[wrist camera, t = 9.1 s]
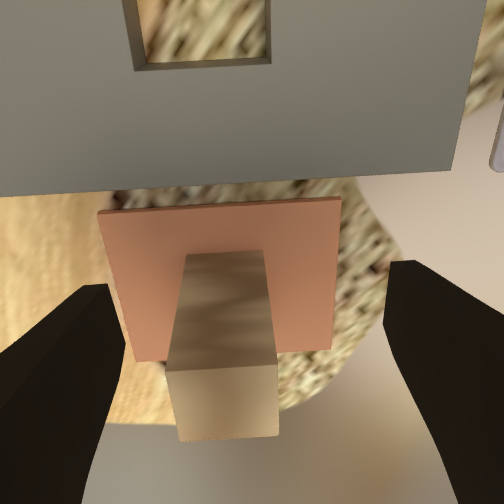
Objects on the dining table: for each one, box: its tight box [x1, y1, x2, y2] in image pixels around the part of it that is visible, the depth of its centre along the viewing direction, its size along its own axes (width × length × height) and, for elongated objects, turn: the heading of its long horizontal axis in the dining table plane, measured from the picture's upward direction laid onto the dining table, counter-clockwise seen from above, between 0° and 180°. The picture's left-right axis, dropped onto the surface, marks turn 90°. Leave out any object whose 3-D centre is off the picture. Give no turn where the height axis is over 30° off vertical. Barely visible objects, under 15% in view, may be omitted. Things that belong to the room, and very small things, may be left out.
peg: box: [165, 250, 279, 442], centre depth 19 cm, size 4×4×8 cm
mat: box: [97, 197, 342, 362], centre depth 23 cm, size 12×10×1 cm
